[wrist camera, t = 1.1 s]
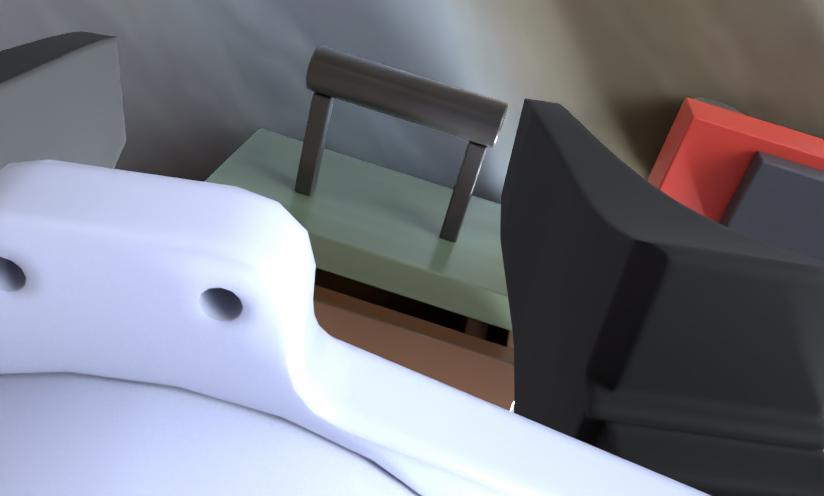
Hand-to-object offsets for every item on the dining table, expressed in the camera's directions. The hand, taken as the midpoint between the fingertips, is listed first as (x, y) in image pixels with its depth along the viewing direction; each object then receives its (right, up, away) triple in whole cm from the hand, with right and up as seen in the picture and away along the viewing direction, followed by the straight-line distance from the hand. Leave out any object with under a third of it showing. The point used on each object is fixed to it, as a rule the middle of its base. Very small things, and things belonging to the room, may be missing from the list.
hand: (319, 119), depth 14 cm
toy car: (+14, 0, +13) cm, 19 cm away
